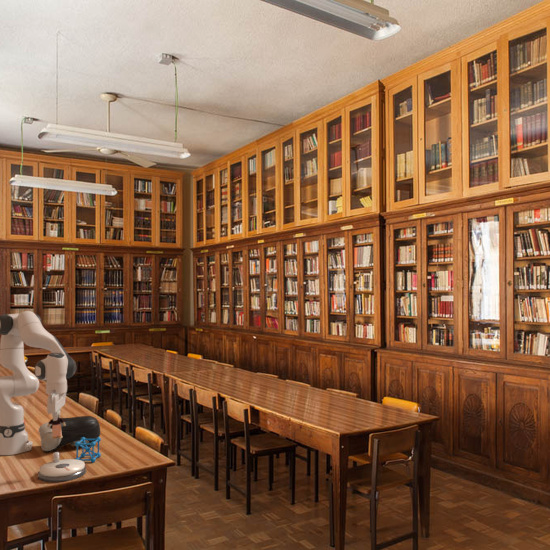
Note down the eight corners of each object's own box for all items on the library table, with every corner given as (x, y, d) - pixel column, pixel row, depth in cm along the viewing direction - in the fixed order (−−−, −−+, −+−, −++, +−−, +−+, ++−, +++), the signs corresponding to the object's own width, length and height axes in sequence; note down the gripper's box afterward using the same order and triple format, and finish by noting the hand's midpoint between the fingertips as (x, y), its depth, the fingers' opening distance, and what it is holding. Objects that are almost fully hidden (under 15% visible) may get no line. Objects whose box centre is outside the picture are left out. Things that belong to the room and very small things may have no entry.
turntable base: (44, 468, 245) (44, 463, 245) (89, 465, 249) (89, 461, 249) (32, 483, 226) (32, 479, 226) (81, 480, 229) (81, 476, 229)
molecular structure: (101, 456, 262) (101, 436, 263) (94, 463, 252) (94, 442, 253) (81, 456, 262) (81, 436, 263) (73, 463, 252) (74, 442, 253)
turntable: (33, 468, 238) (33, 456, 238) (75, 459, 251) (75, 448, 251) (48, 480, 224) (48, 467, 224) (91, 469, 237) (91, 457, 237)
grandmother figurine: (63, 436, 242) (64, 408, 243) (65, 437, 239) (66, 409, 240) (46, 438, 238) (46, 410, 239) (47, 440, 235) (48, 411, 236)
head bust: (42, 461, 262) (104, 446, 275) (39, 427, 261) (101, 414, 275) (40, 450, 281) (98, 436, 295) (36, 418, 280) (94, 406, 294)
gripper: (58, 392, 230) (58, 424, 230) (68, 385, 250) (68, 414, 250) (43, 393, 229) (43, 425, 228) (54, 385, 249) (54, 415, 248)
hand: (56, 419), depth 239 cm, fingers closed on grandmother figurine, 3 cm apart
